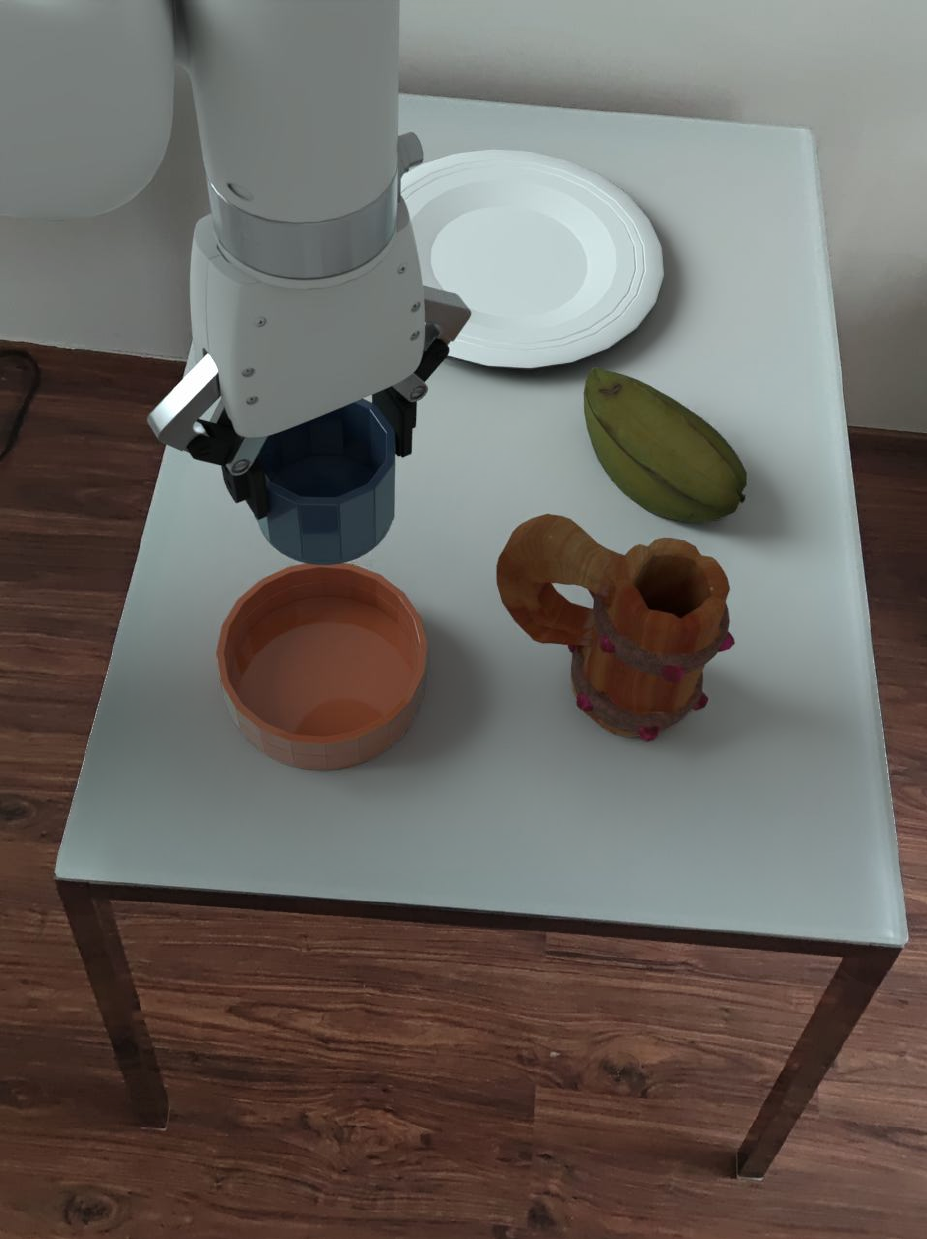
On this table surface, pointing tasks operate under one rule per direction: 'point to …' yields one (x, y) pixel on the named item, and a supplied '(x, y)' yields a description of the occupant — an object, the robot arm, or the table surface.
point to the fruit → (661, 450)
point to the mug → (620, 620)
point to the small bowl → (330, 485)
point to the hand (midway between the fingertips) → (322, 466)
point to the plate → (532, 255)
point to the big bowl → (323, 665)
